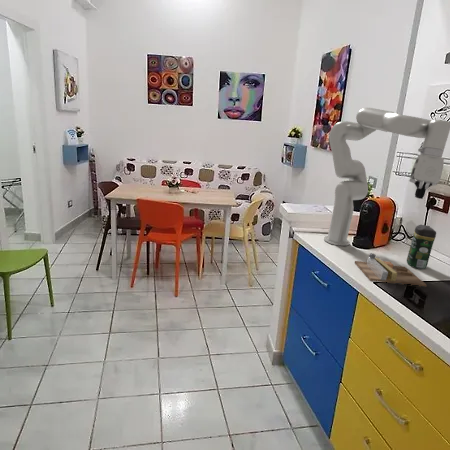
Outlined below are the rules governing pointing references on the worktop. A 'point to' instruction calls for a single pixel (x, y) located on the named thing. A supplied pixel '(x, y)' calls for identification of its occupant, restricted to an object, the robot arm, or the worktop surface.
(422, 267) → the coffee jar
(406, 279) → the board
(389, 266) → the lock tab
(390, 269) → the tong jaw
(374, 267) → the tongs base
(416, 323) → the worktop surface
